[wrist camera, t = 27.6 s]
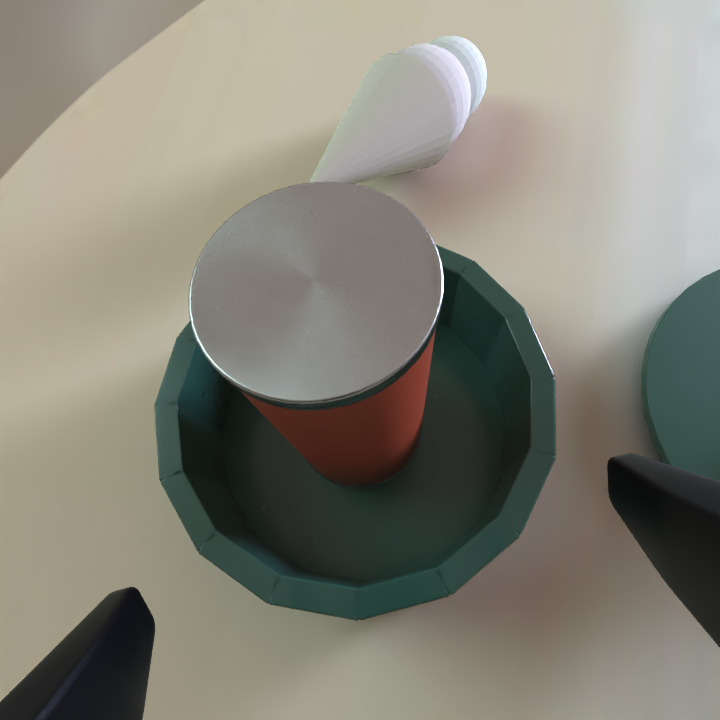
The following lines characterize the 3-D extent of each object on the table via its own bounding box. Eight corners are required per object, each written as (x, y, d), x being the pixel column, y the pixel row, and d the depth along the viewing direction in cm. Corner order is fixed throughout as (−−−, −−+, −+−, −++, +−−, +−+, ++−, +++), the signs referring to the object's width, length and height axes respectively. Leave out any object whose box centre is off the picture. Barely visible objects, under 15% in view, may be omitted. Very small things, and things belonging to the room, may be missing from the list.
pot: (576, 549, 19) (633, 546, 15) (229, 643, 19) (171, 672, 14) (460, 263, 25) (473, 195, 20) (194, 331, 25) (145, 278, 20)
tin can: (404, 505, 20) (408, 434, 9) (282, 469, 21) (143, 365, 10) (433, 385, 22) (467, 201, 11) (321, 358, 23) (243, 164, 12)
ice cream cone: (303, 254, 26) (448, 129, 32) (373, 244, 21) (527, 100, 27) (237, 150, 23) (410, 35, 29) (300, 112, 18) (492, -16, 25)
